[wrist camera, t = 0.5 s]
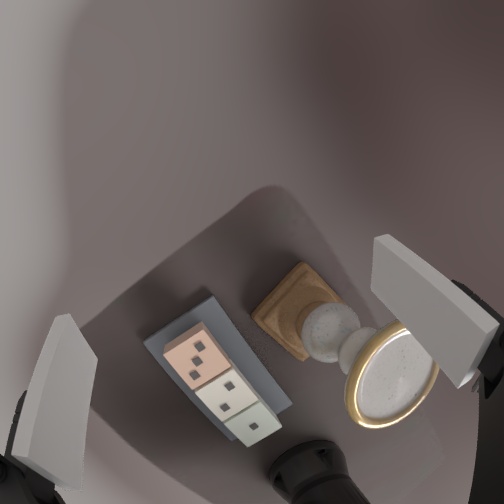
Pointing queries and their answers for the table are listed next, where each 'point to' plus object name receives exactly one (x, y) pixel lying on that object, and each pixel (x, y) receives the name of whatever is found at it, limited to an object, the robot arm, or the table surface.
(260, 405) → the one pip key
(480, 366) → the robot arm
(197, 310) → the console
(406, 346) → the candle holder
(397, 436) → the table surface
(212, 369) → the three pip key
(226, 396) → the two pip key
